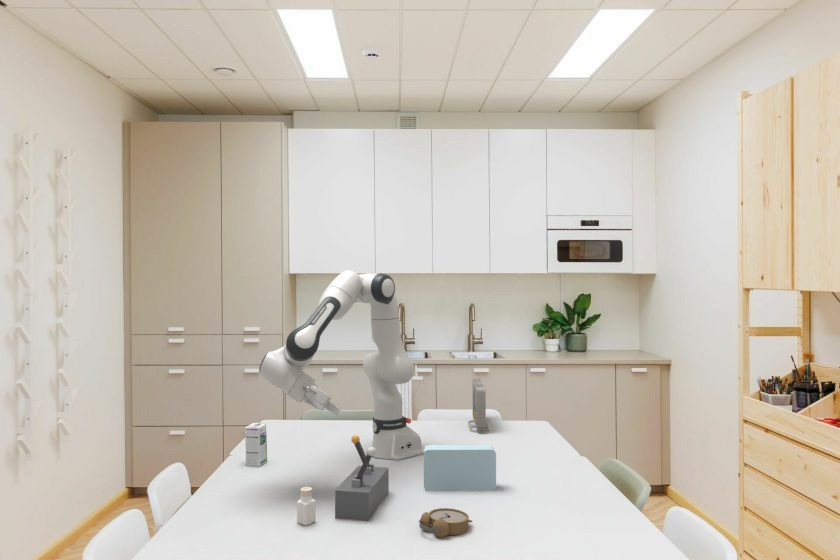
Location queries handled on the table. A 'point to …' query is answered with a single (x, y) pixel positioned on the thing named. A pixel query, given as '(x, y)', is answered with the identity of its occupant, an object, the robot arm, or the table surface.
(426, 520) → the alarm clock
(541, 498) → the table surface
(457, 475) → the light blue rounded box
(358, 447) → the orange lever
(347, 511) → the switch box
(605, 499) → the table surface
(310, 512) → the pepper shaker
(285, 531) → the table surface
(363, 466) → the grey lever
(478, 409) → the network device
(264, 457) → the syrup box
